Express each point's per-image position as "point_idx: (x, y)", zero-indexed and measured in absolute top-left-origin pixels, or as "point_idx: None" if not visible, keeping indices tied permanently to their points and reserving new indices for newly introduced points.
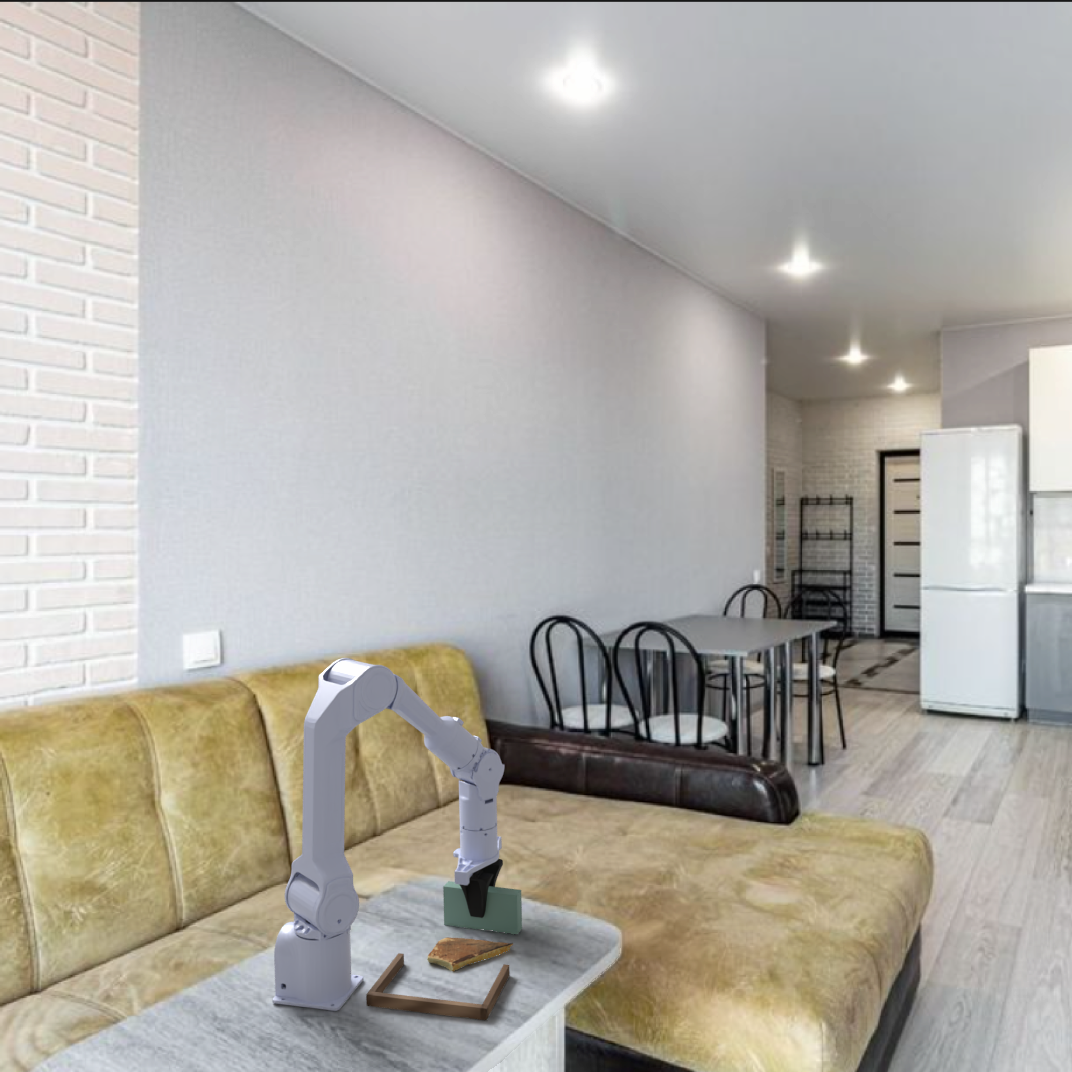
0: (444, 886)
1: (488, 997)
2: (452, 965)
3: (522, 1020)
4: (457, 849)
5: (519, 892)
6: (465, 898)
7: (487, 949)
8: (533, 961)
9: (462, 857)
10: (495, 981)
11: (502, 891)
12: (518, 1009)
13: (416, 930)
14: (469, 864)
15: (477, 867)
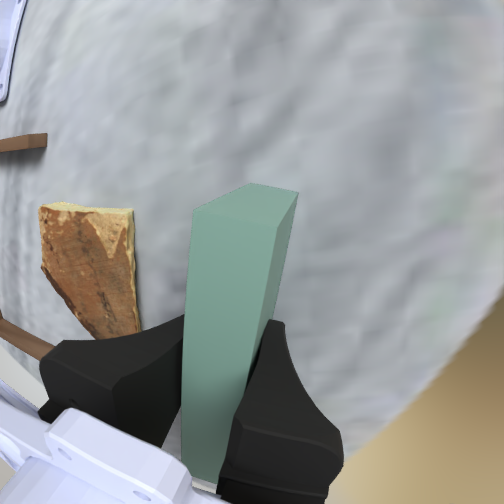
0: (193, 218)
1: (1, 334)
2: (41, 267)
3: (19, 362)
4: (124, 485)
5: (205, 480)
6: (164, 323)
7: (103, 338)
8: None
9: (25, 456)
10: (25, 347)
11: (197, 451)
12: (28, 361)
13: (200, 97)
14: (6, 451)
15: (18, 466)
